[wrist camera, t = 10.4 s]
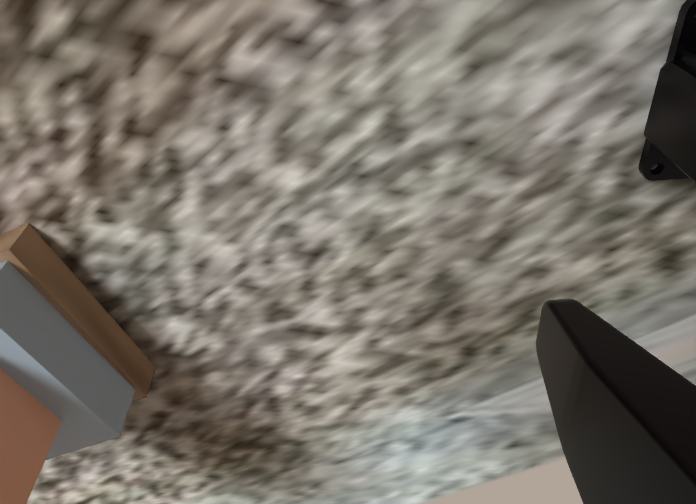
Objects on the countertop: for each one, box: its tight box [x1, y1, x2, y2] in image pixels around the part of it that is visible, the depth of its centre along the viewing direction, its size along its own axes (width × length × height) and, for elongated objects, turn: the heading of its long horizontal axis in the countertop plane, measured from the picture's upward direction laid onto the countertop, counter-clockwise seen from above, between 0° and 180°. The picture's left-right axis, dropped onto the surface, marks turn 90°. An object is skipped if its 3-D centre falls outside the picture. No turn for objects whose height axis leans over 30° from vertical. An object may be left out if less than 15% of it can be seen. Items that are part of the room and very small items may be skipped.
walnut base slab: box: [0, 224, 156, 401], centre depth 25 cm, size 9×9×2 cm
